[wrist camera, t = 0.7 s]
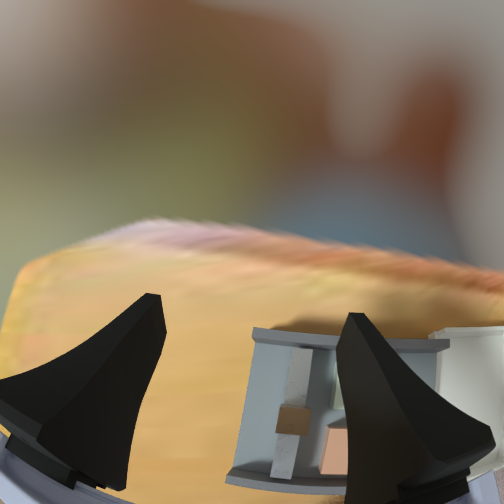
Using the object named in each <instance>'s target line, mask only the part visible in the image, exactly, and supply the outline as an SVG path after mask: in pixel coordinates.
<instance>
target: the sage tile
mask: <svg viewBox="0 0 504 504" xmlns="http://www.w3.org/2000/svg"><path fill="white" fill-rule="evenodd" d="M329 408H332V409H343V410H345V409H344V404H343V399H342V394H341V388H340V383H339V378H338V373H337V363H336V362H335V368H334V377H333V385H332V392H331V399H330V406H329Z"/></svg>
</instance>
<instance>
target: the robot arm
mask: <svg viewBox="0 0 504 504" xmlns="http://www.w3.org/2000/svg"><path fill="white" fill-rule="evenodd" d="M166 334H167V331H166V325H165V319H164V313H163V307H162V301H161V295H157V294H150V293H146V294H144V295H143V296H142V297H140V298H139V299H138V300H137V301H136V302H134V303H133V304H132V305H131V306H130V307H129V308H127V309H126V310H125V311H124V312H123V313H121V314H120V315H119V316H118V317H116V318H115V319H114V320H113V321H112V322H110V323H109V324H108V325H106V326H105V327H104V328H102V329H101V330H100V331H98V332H97V333H96V334H94V335H93V336H92V337H90V338H89V339H88V340H86V341H85V342H83V343H82V344H80V345H78V346H77V347H75V348H74V349H72V350H70V351H69V352H67V353H65V354H63V355H61V356H59V357H58V358H56V359H54V360H52V361H50V362H48V363H46V364H44V365H41V366H39V367H37V368H34V369H32V370H29V371H27V372H24V373H21V374H18V375H15V376H11V377H8V378H4V379H0V424H2V425H3V426H4V427H5V428H6V429H7V430H8V431H9V432H10V433H11V435H10V437H9V438H8V437H7V436H6V435H4V434H3V433H2V432H1V431H0V498H1V499H2V500H3V501H4V502H5V503H6V504H134V503H131V502H128V501H125V500H122V499H120V498H117V497H114V496H112V495H109V494H106V493H104V492H101V491H99V490H97V489H96V486H98V487H100V488H103V489H105V488H106V487H108V488H110V489H113V490H116V491H121V490H124V489H125V488H126V481H127V471H128V462H129V456H130V450H131V444H132V439H133V434H134V429H135V425H136V421H137V417H138V413H139V409H140V406H141V403H142V400H143V397H144V395H145V392H146V390H147V387H148V385H149V382H150V380H151V377H152V375H153V373H154V370H155V368H156V365H157V363H158V360H159V358H160V355H161V352H162V349H163V345H164V342H165V338H166ZM336 363H337V373H338V378H339V383H340V388H341V394H342V399H343V404H344V409H345V415H346V422H347V436H348V470H347V486H346V495H345V503H344V504H501V501H500V496H499V491H498V486H497V482H496V478H495V474H494V470H493V469H491V470H489V471H488V472H486V473H484V474H482V475H480V476H478V477H476V478H474V479H472V480H470V481H469V482H467V476H469V475H470V474H471V472H470V468H469V467H470V466H472V465H473V464H475V463H476V462H478V461H479V460H481V459H482V458H484V457H485V456H486V455H488V454H489V453H490V452H491V451H492V450H494V448H495V447H496V443H495V439H494V436H493V433H492V431H491V428H490V426H488V425H487V424H485V423H483V422H481V421H479V420H477V419H475V418H473V417H471V416H469V415H468V414H466V413H465V412H463V411H461V410H460V409H458V408H457V407H455V406H454V405H452V404H451V403H450V402H448V401H447V400H446V399H444V398H443V397H442V396H440V395H439V394H438V393H437V392H435V391H434V390H433V389H432V388H431V387H430V386H428V385H427V384H426V383H425V382H424V381H423V380H422V379H421V378H420V377H419V376H418V375H417V374H416V373H415V372H414V371H413V370H412V369H411V368H410V367H409V366H408V365H407V364H406V363H405V362H404V361H403V360H402V358H401V357H400V356H399V355H398V354H397V353H396V352H395V350H394V349H393V348H392V347H391V346H390V345H389V343H388V342H387V341H386V340H385V338H384V337H383V336H382V335H381V334H380V332H379V331H378V330H377V329H376V327H375V326H374V325H373V324H372V322H371V321H370V320H369V319H368V318H367V316H366V315H365V314H364V313H350V312H349V314H348V317H347V320H346V322H345V325H344V328H343V330H342V333H341V336H340V338H339V341H338V343H337V346H336Z"/></svg>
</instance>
